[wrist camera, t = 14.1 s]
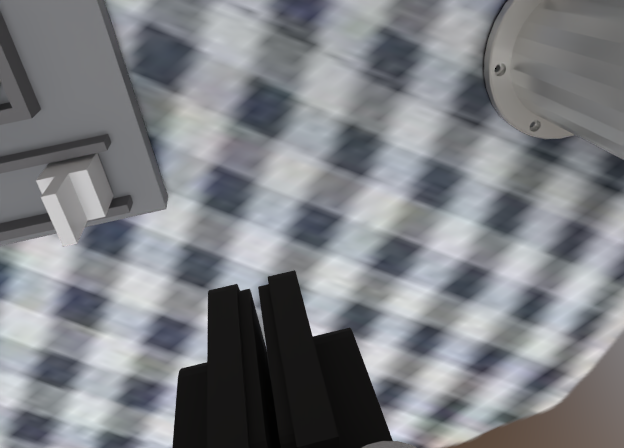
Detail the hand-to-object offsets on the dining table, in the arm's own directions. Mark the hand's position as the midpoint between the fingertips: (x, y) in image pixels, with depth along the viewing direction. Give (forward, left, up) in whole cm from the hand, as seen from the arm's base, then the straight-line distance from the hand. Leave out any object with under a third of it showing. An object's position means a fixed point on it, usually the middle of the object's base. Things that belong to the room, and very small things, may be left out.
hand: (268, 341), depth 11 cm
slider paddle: (+11, +5, -27) cm, 30 cm away
